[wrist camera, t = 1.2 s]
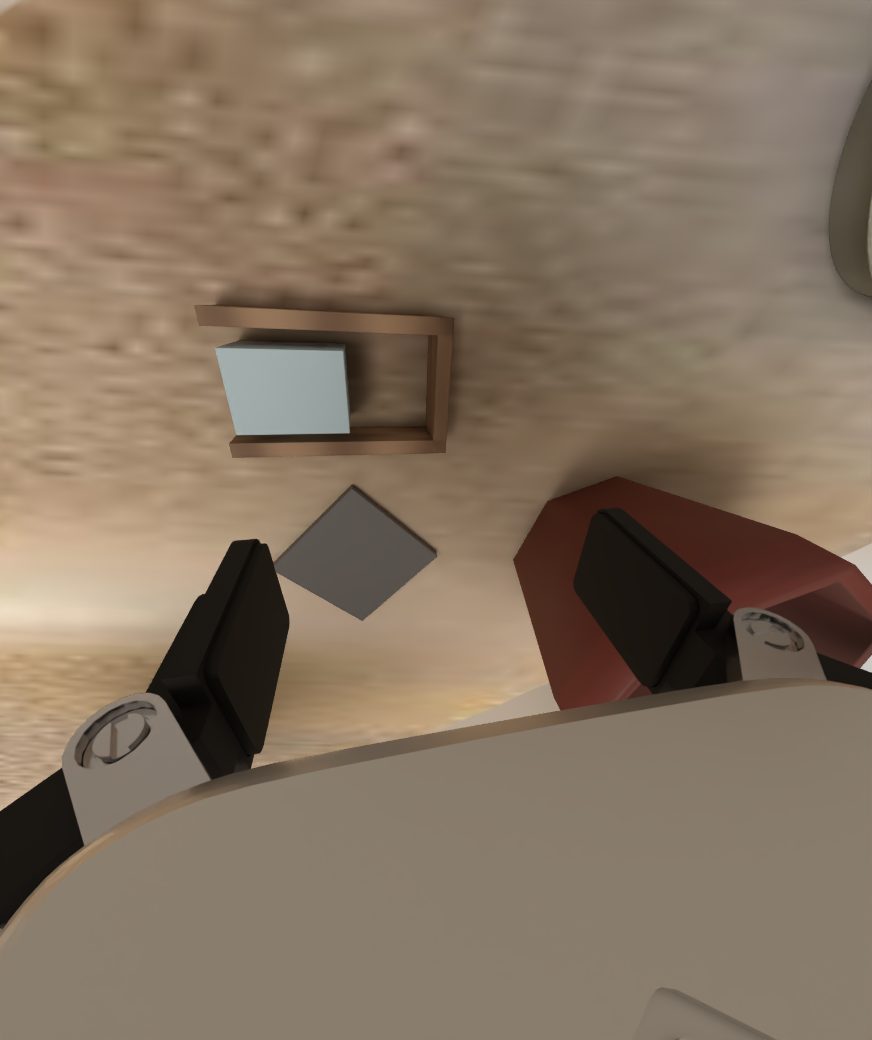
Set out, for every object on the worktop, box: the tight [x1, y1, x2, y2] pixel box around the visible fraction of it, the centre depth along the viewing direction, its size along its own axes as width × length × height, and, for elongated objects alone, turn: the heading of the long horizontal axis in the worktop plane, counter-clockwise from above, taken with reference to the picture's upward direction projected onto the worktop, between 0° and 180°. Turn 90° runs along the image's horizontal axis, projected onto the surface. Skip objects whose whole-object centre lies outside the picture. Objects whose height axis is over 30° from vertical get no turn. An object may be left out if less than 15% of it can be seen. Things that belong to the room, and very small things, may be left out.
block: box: [215, 341, 350, 435], centre depth 24 cm, size 7×5×5 cm
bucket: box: [513, 477, 872, 710], centre depth 30 cm, size 24×22×25 cm
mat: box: [273, 485, 437, 621], centre depth 35 cm, size 11×11×1 cm
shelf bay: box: [194, 305, 454, 458], centre depth 25 cm, size 15×9×4 cm, turn 87°
